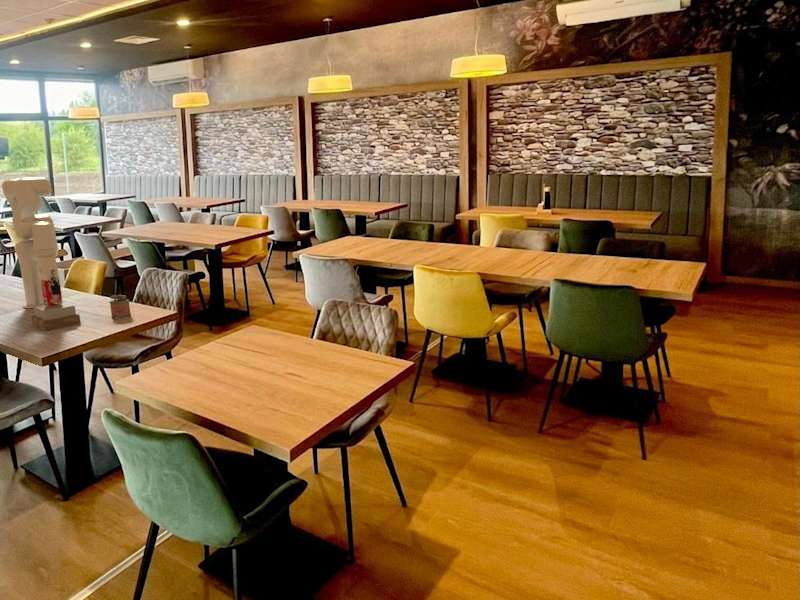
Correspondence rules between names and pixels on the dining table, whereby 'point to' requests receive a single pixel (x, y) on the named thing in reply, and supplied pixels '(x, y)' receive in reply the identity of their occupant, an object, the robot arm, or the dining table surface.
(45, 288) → the soda can
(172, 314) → the dining table surface
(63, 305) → the tower top
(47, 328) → the tower base
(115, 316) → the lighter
